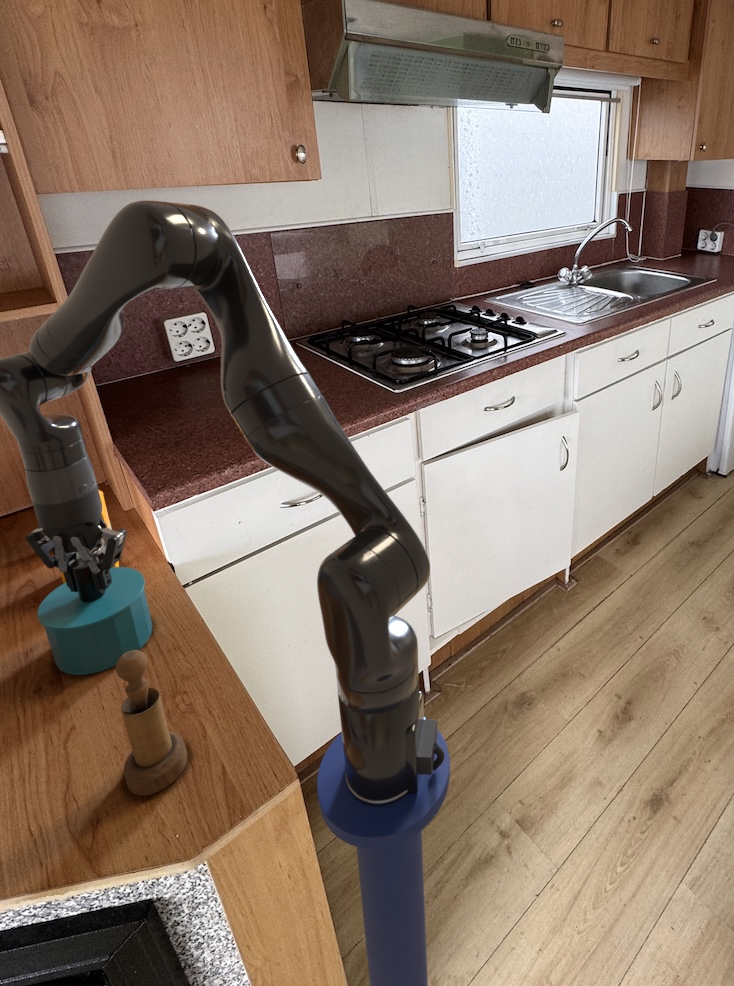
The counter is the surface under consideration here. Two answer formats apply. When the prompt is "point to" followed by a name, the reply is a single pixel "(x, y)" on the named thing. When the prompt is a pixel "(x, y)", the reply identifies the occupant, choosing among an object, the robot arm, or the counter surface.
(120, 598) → the lid
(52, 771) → the counter surface
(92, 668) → the pot
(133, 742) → the mortar and pestle
